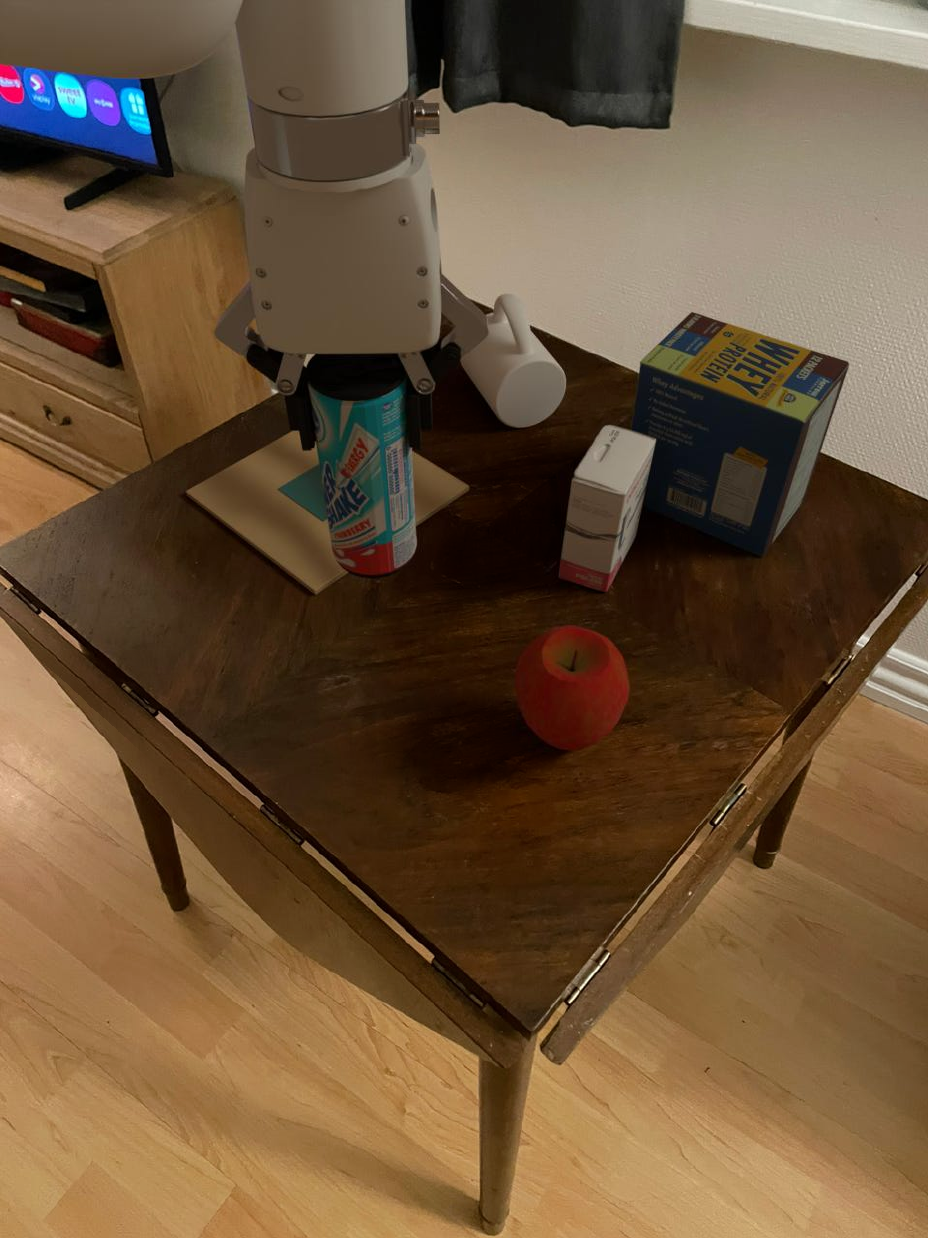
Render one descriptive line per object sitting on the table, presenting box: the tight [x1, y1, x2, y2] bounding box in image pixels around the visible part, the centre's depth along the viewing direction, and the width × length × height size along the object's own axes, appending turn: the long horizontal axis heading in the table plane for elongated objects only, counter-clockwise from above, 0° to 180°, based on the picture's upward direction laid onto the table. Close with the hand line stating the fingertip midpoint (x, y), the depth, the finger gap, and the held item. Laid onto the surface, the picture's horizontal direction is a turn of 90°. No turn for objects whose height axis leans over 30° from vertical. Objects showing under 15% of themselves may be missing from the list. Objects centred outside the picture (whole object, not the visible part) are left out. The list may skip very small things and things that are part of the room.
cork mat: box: [185, 431, 470, 595], centre depth 93 cm, size 20×20×1 cm
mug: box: [459, 293, 567, 429], centre depth 99 cm, size 8×10×12 cm
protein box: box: [630, 311, 850, 558], centre depth 86 cm, size 10×15×16 cm
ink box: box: [558, 424, 656, 593], centre depth 82 cm, size 9×5×12 cm, turn 155°
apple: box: [513, 624, 631, 752], centre depth 69 cm, size 9×8×11 cm
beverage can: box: [305, 353, 418, 580], centre depth 60 cm, size 6×6×15 cm
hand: (363, 434), depth 58 cm, fingers closed on beverage can, 5 cm apart
